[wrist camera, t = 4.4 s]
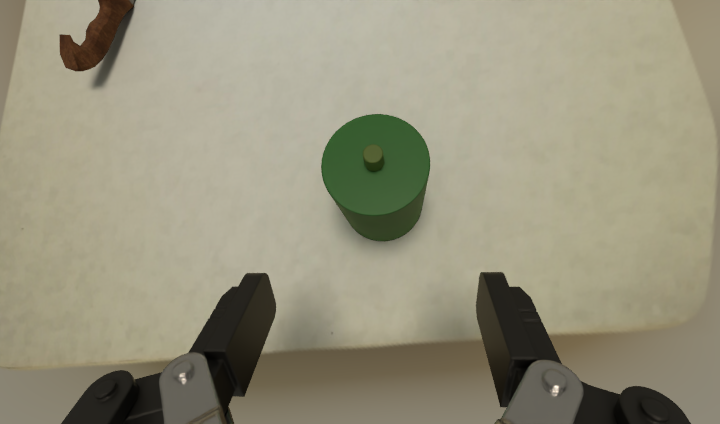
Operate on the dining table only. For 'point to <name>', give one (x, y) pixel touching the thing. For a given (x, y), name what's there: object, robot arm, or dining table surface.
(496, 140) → the dining table surface
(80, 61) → the knife
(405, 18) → the dining table surface
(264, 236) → the dining table surface
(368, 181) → the green knobbed canister
